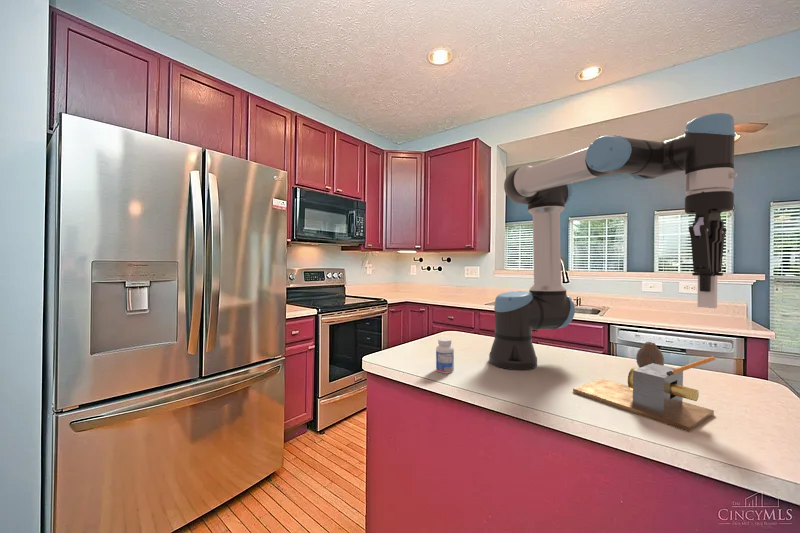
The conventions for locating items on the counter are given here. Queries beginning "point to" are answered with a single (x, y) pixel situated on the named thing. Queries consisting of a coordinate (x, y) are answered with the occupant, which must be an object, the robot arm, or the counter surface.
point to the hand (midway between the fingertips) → (707, 307)
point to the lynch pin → (672, 389)
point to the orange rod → (693, 364)
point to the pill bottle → (444, 356)
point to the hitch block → (649, 397)
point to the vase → (649, 355)
